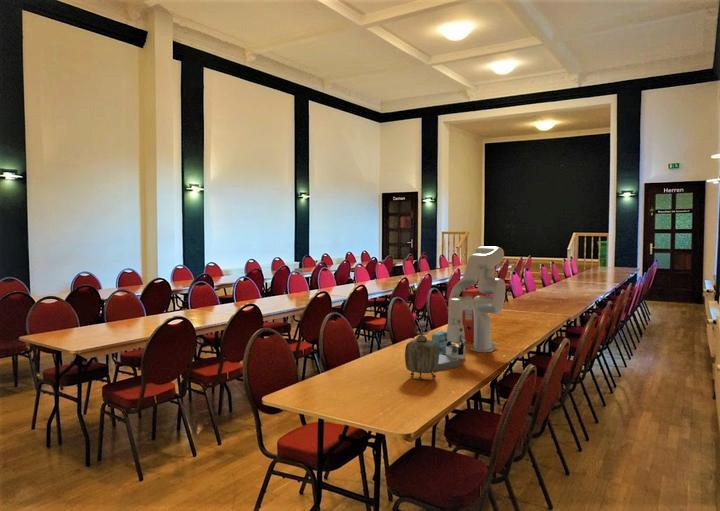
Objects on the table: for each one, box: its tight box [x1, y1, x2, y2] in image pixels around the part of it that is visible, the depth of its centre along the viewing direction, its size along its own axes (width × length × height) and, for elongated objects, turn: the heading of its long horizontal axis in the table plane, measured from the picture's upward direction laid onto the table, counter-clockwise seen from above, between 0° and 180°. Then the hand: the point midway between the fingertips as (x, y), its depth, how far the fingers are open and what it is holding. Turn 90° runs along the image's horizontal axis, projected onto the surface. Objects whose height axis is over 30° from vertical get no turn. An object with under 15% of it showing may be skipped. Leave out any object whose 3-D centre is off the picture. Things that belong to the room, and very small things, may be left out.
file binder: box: [462, 287, 487, 344], centre depth 329 cm, size 8×17×32 cm, turn 142°
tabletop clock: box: [404, 325, 439, 381], centre depth 246 cm, size 14×9×25 cm, turn 66°
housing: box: [445, 343, 466, 360], centre depth 284 cm, size 9×5×8 cm, turn 119°
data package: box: [431, 330, 447, 355], centre depth 295 cm, size 12×4×12 cm, turn 140°
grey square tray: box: [434, 354, 461, 371], centre depth 271 cm, size 16×16×3 cm
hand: (454, 352), depth 283 cm, fingers open, 9 cm apart
